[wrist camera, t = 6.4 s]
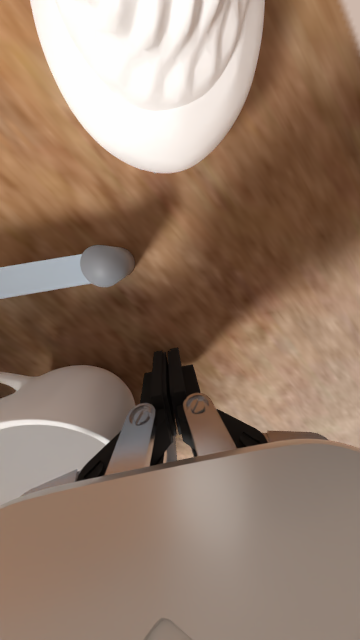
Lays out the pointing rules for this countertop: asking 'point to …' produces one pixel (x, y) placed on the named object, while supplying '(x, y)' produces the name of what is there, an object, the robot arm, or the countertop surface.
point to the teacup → (57, 424)
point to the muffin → (153, 72)
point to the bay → (71, 278)
